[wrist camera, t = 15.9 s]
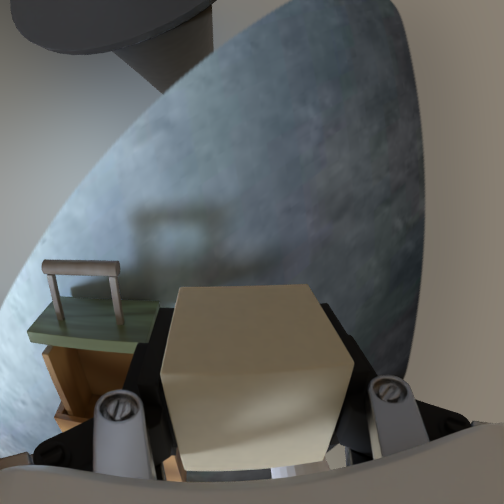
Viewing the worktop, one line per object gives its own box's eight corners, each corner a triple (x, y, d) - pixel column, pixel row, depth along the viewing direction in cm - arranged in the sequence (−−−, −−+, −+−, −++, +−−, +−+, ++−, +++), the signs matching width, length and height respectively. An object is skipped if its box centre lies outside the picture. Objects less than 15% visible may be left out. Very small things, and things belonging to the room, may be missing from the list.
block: (189, 382, 12) (184, 471, 8) (179, 286, 10) (159, 373, 6) (296, 377, 12) (323, 461, 8) (307, 283, 11) (355, 362, 6)
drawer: (46, 244, 25) (9, 271, 18) (154, 243, 26) (136, 275, 20) (85, 390, 31) (70, 430, 25) (172, 398, 32) (167, 443, 26)
